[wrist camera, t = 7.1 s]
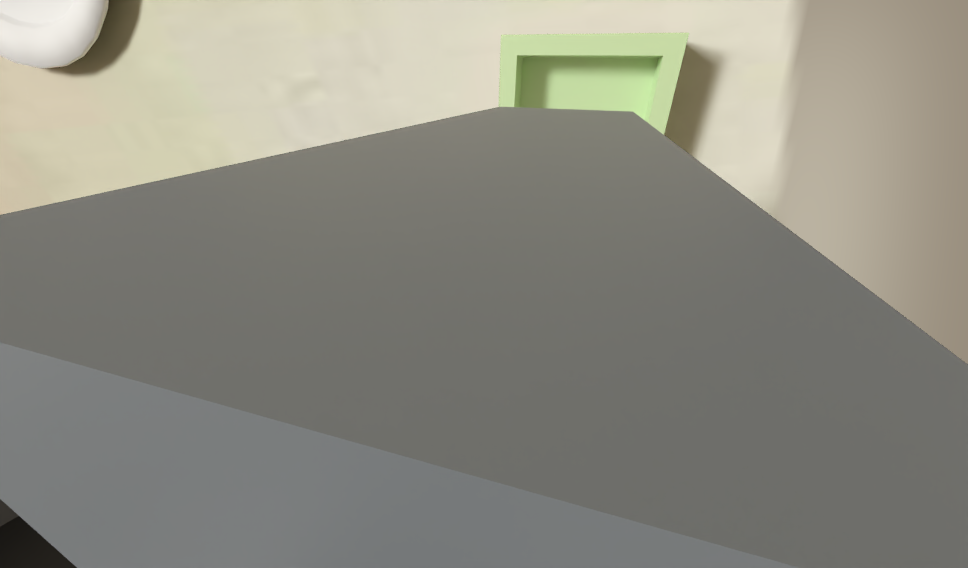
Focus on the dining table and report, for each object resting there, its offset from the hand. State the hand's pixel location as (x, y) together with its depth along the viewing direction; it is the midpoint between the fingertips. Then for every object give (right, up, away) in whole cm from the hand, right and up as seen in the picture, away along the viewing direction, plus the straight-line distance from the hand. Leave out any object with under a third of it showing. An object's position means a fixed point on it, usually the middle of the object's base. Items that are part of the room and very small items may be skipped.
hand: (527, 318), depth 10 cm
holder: (+5, +9, +16) cm, 19 cm away
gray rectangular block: (+1, +2, +4) cm, 4 cm away
